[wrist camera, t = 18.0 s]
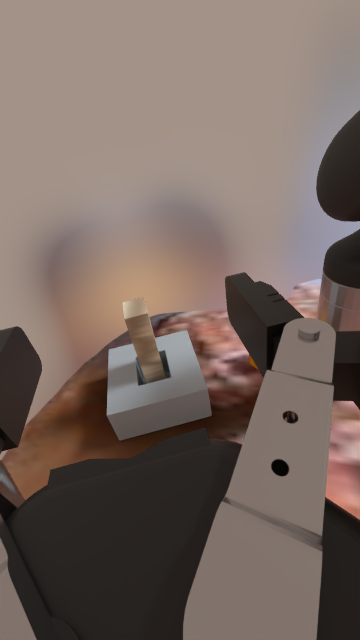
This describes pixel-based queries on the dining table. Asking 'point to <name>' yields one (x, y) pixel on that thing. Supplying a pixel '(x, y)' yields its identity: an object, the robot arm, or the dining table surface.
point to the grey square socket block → (156, 389)
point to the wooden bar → (143, 339)
